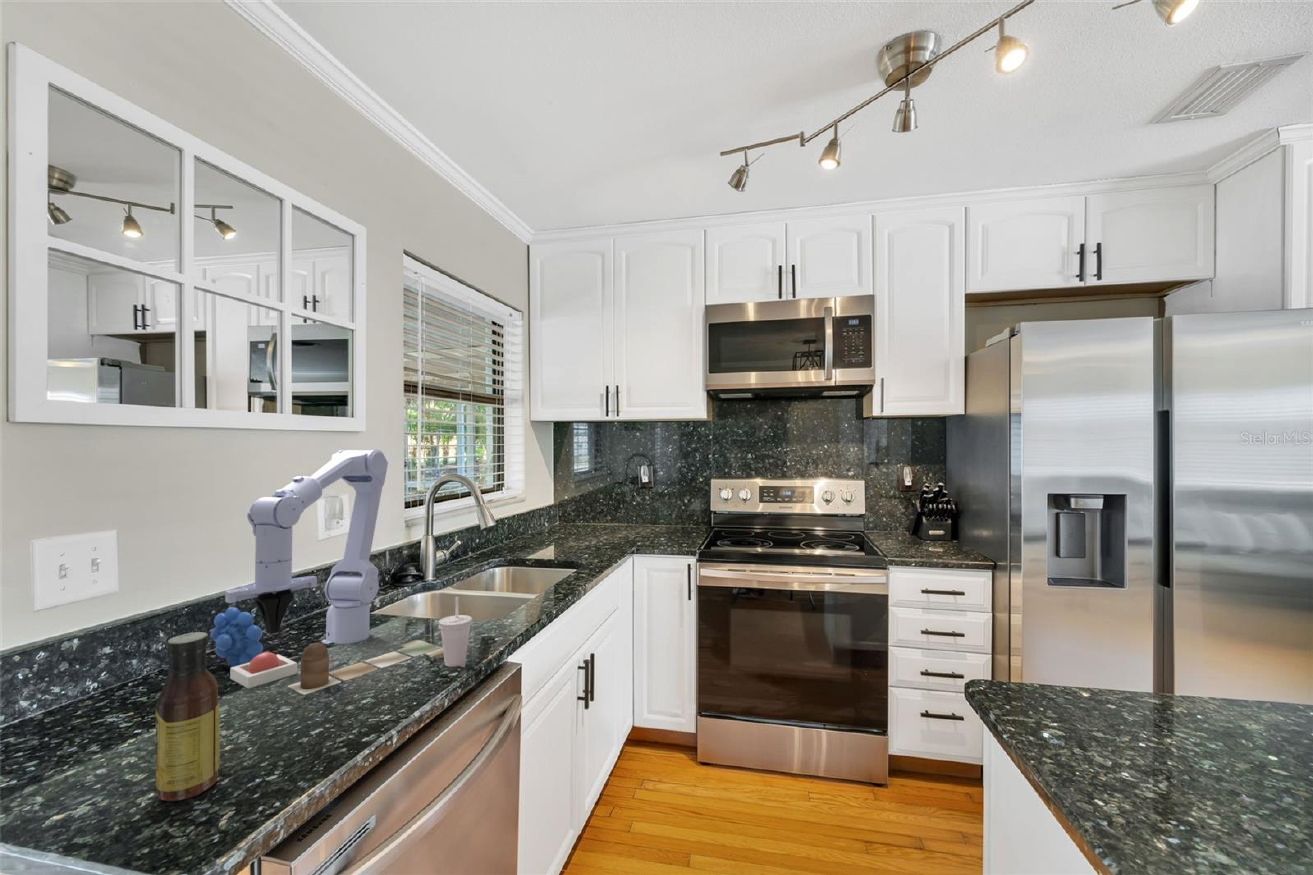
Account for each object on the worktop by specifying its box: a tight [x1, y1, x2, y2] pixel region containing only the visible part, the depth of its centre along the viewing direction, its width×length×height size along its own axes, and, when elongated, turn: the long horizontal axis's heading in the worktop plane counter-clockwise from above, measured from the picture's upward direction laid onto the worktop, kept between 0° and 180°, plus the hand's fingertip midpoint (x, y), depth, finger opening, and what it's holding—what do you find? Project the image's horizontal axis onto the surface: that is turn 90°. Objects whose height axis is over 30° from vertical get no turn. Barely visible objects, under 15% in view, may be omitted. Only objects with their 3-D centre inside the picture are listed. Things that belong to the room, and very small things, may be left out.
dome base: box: [229, 653, 298, 690], centre depth 104 cm, size 8×8×3 cm
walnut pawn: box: [299, 642, 330, 689], centre depth 100 cm, size 4×4×7 cm
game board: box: [286, 639, 444, 696], centre depth 109 cm, size 12×28×1 cm, turn 147°
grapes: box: [210, 606, 264, 668], centre depth 109 cm, size 12×7×12 cm, turn 79°
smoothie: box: [438, 596, 473, 668], centre depth 110 cm, size 6×6×14 cm
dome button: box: [248, 651, 280, 674], centre depth 104 cm, size 5×5×5 cm
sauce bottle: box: [155, 631, 220, 802], centre depth 71 cm, size 7×6×20 cm
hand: (272, 632), depth 103 cm, fingers closed
